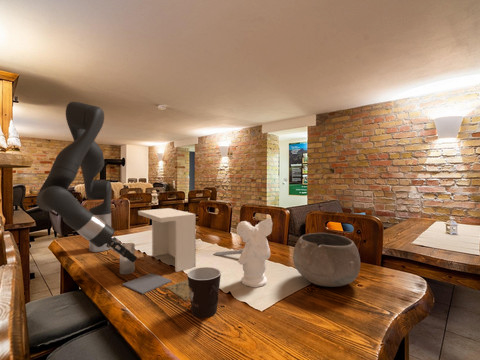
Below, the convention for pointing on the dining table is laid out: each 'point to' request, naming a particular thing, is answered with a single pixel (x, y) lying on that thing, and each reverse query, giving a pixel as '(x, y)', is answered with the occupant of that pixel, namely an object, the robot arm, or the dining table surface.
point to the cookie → (180, 289)
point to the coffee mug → (204, 291)
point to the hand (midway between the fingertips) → (132, 257)
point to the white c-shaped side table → (173, 235)
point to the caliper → (229, 252)
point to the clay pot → (327, 259)
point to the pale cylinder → (127, 260)
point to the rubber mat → (146, 283)
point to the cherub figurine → (254, 251)
